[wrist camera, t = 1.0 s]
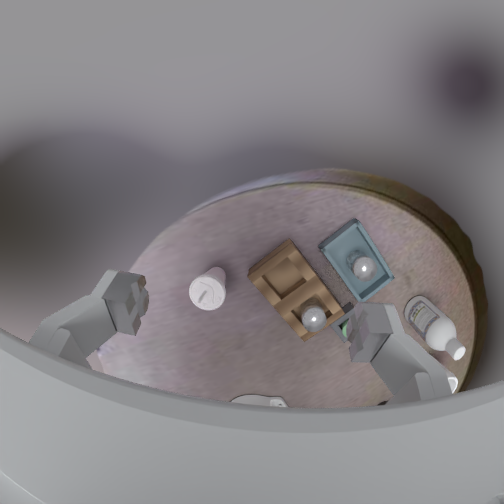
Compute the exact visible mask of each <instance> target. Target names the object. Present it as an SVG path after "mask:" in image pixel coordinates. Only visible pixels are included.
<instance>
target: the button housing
mask: <svg viewBox="0 0 504 504" xmlns="http://www.w3.org/2000/svg"><path fill="white" fill-rule="evenodd" d="M342 309H343V311H344V313H345V314H344V315H343V316H341V317H340V318H339V319H337V320H336V321H334V322H333V323H332V324H330V326H331V327H332V328H333V330H334V331H335V332H336V333H337V335H338V336H339V337H340V339H341V340H342V341H343V342H344V343H345V342H346V341H348V340H347V337H345V336H344V335H343V333H342V327H341V326H340V324H341V323H343V322H344V321H346V320H347V319H348V318H350V316H351V315H353V314H354V313H355V311H354V307H353V306H352V304H351V303H350V302H349V303H348V304H347V305H345V306H344V307H342Z"/></svg>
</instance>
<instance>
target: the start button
mask: <svg viewBox="0 0 504 504" xmlns="http://www.w3.org/2000/svg"><path fill="white" fill-rule="evenodd" d="M348 320H349V318H348V319H347V320H346V321H344V322H343V323H341V326H342V333H343V335H344V336H345V337H347V335H346V327H347V322H348Z"/></svg>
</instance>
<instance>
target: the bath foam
mask: <svg viewBox="0 0 504 504" xmlns="http://www.w3.org/2000/svg"><path fill="white" fill-rule="evenodd" d="M404 315H405V318H406V320H407V321H408V322H409V323H410V325H411V326H412V327H413V328H414V329H415V330H416V332H417V333H418V334H419V335H420V336H421V337H422V339H423V340H424V341H425V342H426V343H427V344H428V345H429V346H430V347H431V348H433V349H435V350H439V351H447V352H448V353H449V354H450V355H451V356H452V358H453V359H454V360H458V359H460V358H461V357H462V356H463V355H464V353H465V347H464V346H463V345H462V344H461V343H460V342H459V341H458V340H457V339H456V329H455V326H454V324H453V322H452V321H451V319H450V318H449V317H448V316H446V315H445V314H444V313H443V312H442V311H441V310H440V309H438V308H437V307H436V306H435V305H434V304H433V303H431V302H430V301H429V300H428V299H427V298H425V297H423V296H416V297H414V298H413V299H411V300H410V301H409V302H408V304H407V305H406V308H405V312H404Z"/></svg>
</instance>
